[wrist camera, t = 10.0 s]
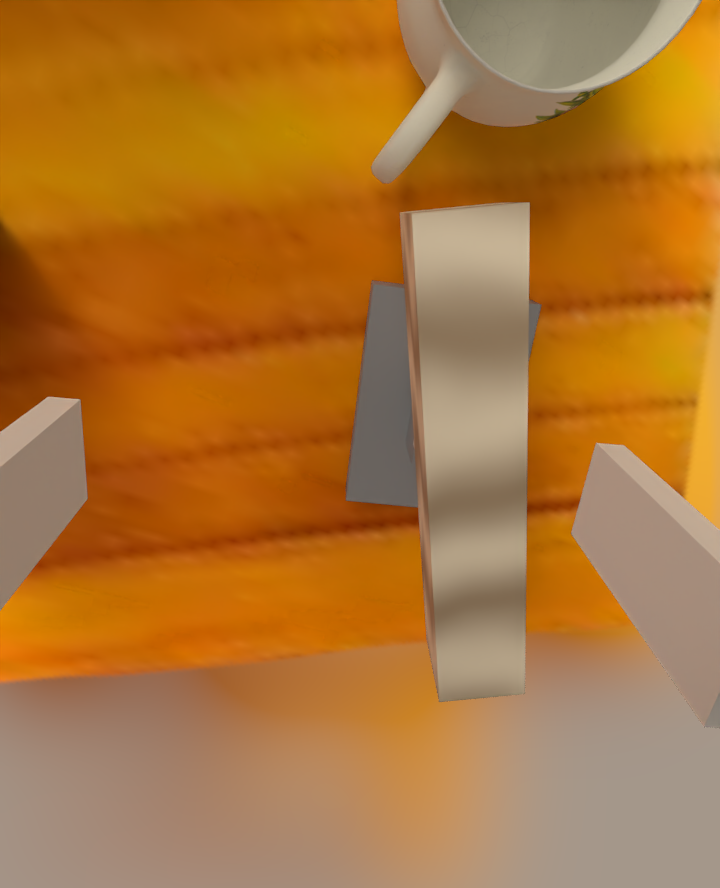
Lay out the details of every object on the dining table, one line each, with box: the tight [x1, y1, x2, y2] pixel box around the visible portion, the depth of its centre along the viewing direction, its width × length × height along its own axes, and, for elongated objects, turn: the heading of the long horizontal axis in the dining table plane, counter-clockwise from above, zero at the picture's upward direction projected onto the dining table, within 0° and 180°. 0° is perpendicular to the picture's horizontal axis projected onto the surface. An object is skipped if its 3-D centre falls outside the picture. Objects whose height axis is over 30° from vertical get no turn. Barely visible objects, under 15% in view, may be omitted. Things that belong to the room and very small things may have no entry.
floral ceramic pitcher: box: [371, 0, 702, 183], centre depth 26 cm, size 11×18×14 cm, turn 141°
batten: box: [400, 202, 530, 702], centre depth 30 cm, size 24×4×5 cm, turn 5°
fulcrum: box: [346, 280, 541, 507], centre depth 36 cm, size 14×10×8 cm
